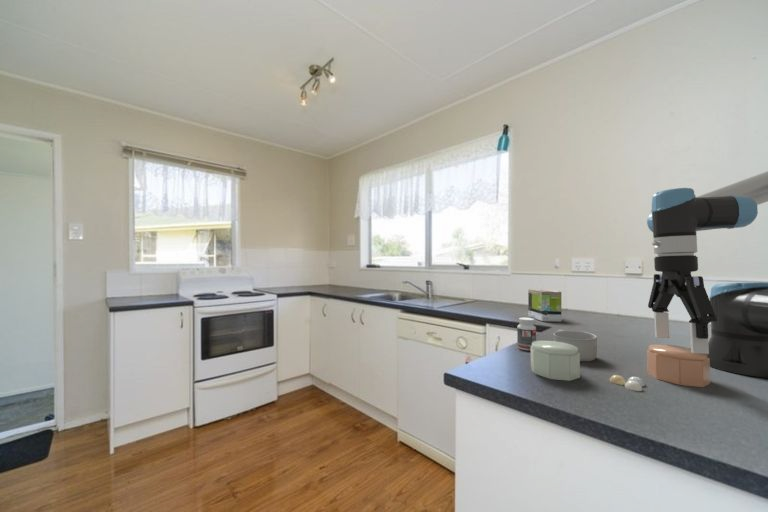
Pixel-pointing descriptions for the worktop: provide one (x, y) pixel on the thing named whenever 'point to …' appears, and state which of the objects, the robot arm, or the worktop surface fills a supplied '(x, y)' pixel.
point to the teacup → (579, 342)
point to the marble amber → (617, 380)
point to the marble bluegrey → (637, 380)
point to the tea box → (544, 305)
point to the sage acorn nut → (555, 360)
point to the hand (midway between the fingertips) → (679, 344)
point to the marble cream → (633, 386)
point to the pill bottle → (526, 333)
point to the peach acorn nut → (678, 365)
